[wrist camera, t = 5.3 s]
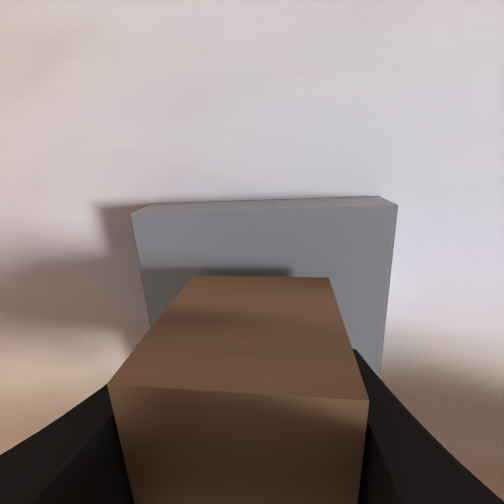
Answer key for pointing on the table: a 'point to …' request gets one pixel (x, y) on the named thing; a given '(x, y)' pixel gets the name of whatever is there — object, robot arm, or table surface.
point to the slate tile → (276, 252)
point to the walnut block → (243, 397)
